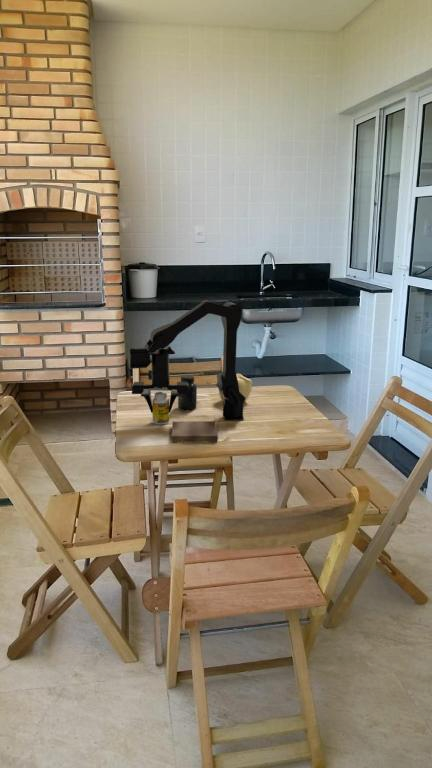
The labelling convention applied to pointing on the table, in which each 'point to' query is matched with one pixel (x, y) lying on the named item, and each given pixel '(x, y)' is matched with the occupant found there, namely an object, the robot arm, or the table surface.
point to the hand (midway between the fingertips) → (160, 412)
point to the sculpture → (242, 387)
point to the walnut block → (194, 431)
